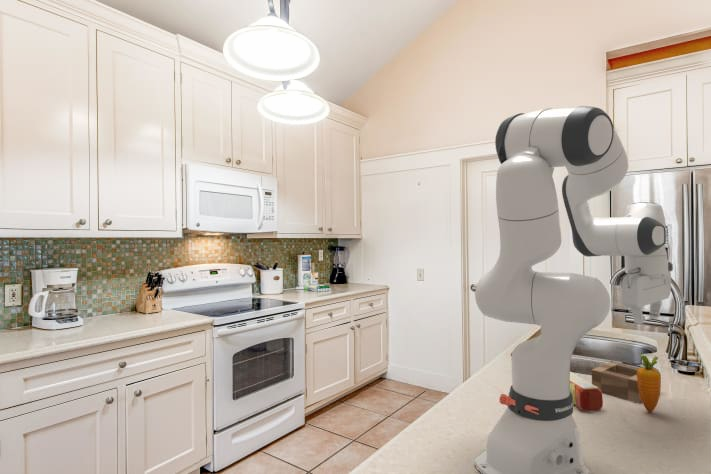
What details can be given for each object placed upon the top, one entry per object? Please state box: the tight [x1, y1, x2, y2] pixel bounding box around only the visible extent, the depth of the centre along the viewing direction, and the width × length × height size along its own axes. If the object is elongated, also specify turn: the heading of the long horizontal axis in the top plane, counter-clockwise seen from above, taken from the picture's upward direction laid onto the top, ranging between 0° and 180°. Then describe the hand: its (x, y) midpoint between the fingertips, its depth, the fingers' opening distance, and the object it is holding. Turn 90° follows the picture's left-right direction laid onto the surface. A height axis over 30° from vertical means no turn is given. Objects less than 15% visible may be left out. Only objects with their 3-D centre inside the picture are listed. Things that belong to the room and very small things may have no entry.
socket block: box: [591, 361, 642, 404], centre depth 117 cm, size 12×12×6 cm
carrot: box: [637, 353, 662, 414], centre depth 103 cm, size 5×5×15 cm
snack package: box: [570, 371, 604, 412], centre depth 115 cm, size 21×7×7 cm, turn 0°
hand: (647, 320), depth 103 cm, fingers open, 8 cm apart
